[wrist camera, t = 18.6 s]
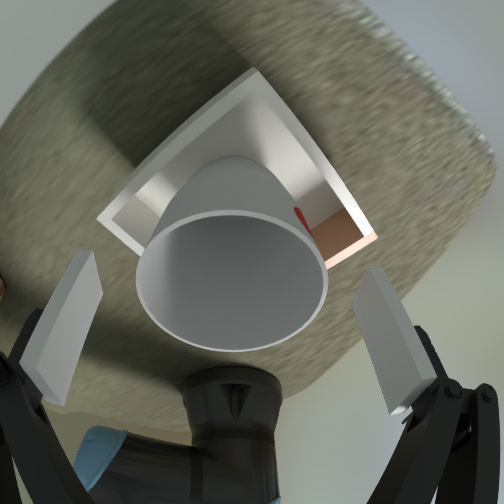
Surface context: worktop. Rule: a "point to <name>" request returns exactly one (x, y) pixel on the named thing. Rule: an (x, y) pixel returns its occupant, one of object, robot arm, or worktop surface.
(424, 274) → the worktop surface
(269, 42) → the worktop surface
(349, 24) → the worktop surface
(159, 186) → the white open box
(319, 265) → the cup
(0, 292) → the sauce bottle
